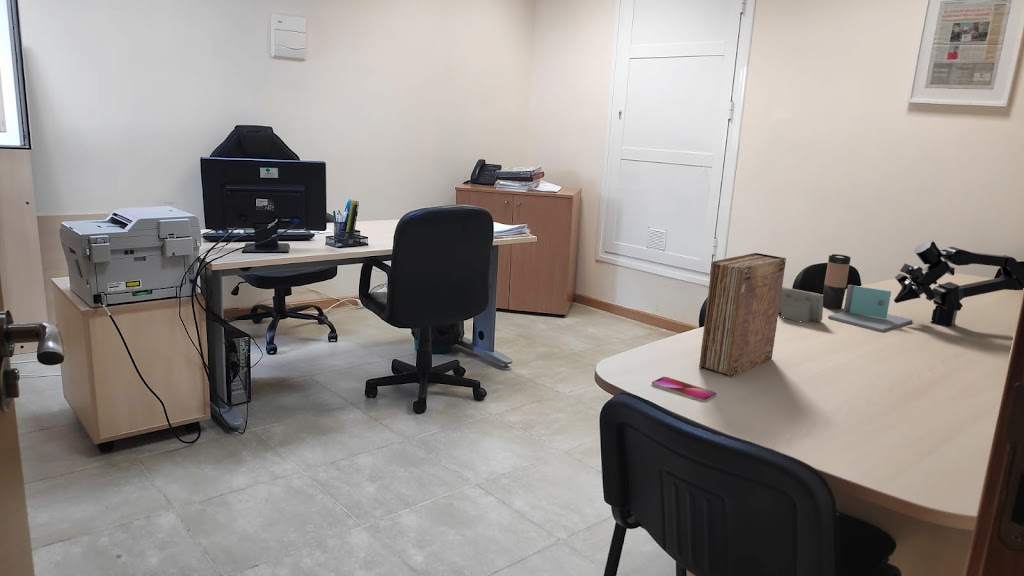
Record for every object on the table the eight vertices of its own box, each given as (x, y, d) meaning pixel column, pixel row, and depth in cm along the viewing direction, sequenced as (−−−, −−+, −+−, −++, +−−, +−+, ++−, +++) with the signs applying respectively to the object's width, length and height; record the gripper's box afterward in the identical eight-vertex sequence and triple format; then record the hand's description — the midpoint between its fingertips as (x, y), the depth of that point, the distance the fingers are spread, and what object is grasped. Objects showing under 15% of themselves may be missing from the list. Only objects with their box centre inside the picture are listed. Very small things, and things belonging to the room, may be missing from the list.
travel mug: (846, 310, 266) (854, 258, 261) (825, 309, 266) (834, 257, 261) (837, 305, 273) (845, 254, 268) (817, 304, 273) (825, 253, 268)
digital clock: (824, 322, 247) (829, 293, 244) (811, 326, 241) (815, 296, 239) (782, 311, 259) (786, 283, 256) (768, 314, 253) (773, 286, 251)
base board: (912, 322, 253) (913, 314, 252) (881, 332, 238) (883, 323, 237) (858, 309, 267) (860, 302, 267) (826, 318, 253) (828, 310, 252)
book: (729, 378, 186) (743, 267, 179) (698, 368, 192) (711, 261, 185) (772, 358, 204) (786, 257, 197) (742, 350, 210) (755, 252, 203)
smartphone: (704, 400, 168) (650, 382, 178) (704, 404, 168) (649, 386, 178) (718, 393, 174) (664, 375, 183) (717, 396, 174) (664, 379, 183)
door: (842, 312, 256) (847, 285, 254) (843, 310, 259) (848, 284, 257) (885, 319, 249) (890, 292, 247) (886, 317, 252) (891, 290, 250)
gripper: (905, 252, 257) (869, 279, 259) (933, 262, 238) (894, 291, 241) (922, 274, 258) (887, 301, 261) (952, 286, 240) (913, 315, 243)
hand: (894, 301), depth 252 cm, fingers closed
